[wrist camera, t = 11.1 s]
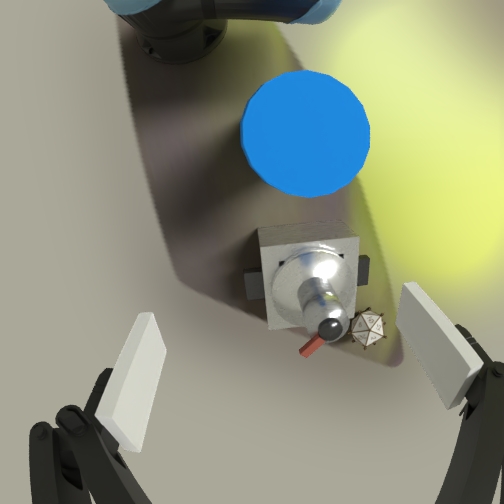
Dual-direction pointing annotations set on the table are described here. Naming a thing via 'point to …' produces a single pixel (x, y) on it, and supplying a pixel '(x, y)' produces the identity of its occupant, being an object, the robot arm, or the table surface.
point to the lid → (314, 294)
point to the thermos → (305, 133)
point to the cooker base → (296, 239)
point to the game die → (367, 328)
